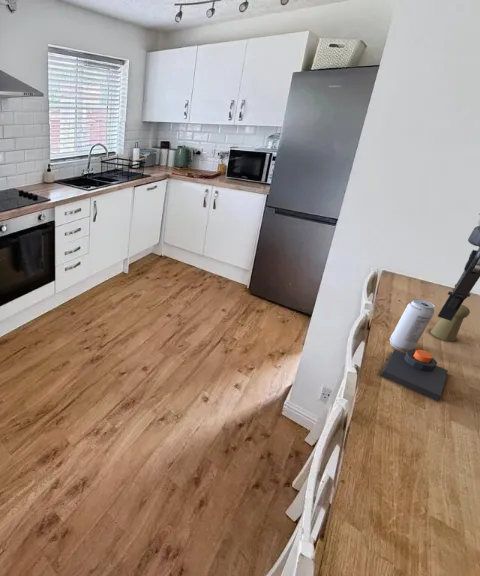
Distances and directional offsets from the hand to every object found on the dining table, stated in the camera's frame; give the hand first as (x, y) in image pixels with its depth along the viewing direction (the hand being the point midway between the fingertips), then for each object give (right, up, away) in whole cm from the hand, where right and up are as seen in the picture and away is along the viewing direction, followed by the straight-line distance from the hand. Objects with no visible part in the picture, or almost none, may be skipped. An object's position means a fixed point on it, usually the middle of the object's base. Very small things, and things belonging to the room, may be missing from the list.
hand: (444, 317), depth 94 cm
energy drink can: (+2, -10, +17) cm, 20 cm away
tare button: (0, -12, +6) cm, 13 cm away
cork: (+21, -8, +22) cm, 32 cm away
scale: (-4, -16, +5) cm, 17 cm away
